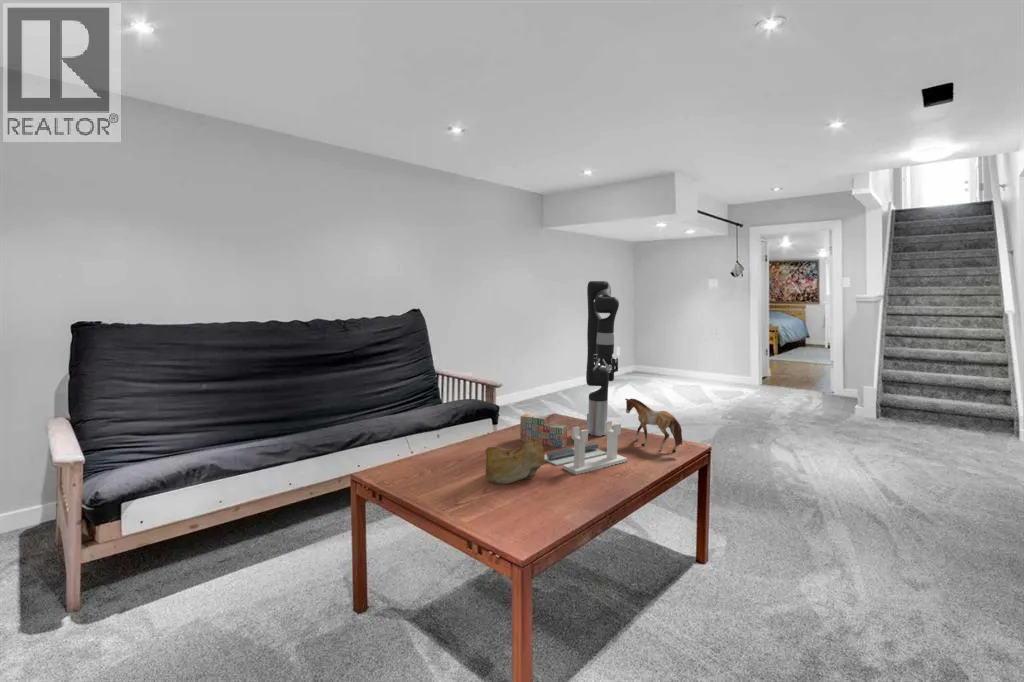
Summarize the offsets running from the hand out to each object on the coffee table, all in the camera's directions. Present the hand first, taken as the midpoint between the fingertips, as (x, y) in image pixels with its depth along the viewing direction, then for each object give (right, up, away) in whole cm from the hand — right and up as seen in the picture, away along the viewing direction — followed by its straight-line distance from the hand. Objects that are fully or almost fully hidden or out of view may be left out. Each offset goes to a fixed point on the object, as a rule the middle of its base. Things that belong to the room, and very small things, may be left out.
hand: (604, 379), depth 227 cm
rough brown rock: (-41, -35, -30) cm, 62 cm away
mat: (-14, -32, -5) cm, 36 cm away
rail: (-14, -32, -5) cm, 35 cm away
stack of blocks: (-26, -31, +13) cm, 42 cm away
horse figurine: (+23, -32, +6) cm, 40 cm away
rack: (-6, -34, -17) cm, 38 cm away
